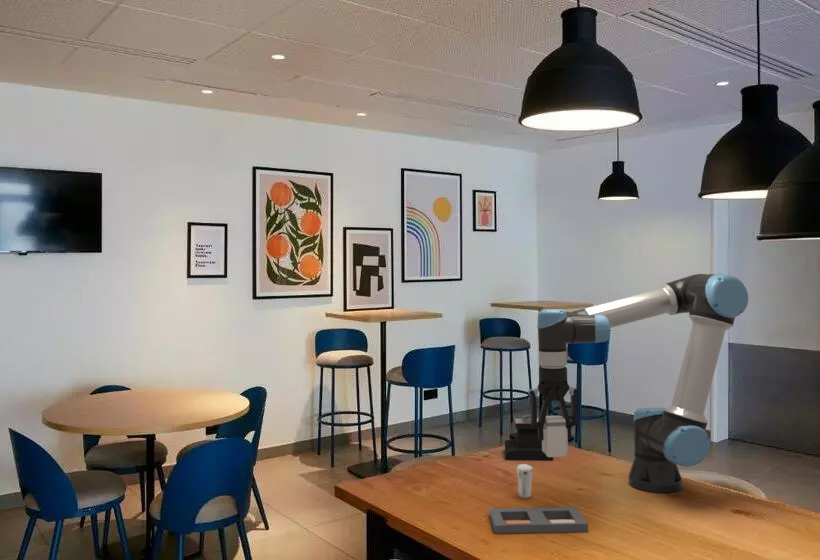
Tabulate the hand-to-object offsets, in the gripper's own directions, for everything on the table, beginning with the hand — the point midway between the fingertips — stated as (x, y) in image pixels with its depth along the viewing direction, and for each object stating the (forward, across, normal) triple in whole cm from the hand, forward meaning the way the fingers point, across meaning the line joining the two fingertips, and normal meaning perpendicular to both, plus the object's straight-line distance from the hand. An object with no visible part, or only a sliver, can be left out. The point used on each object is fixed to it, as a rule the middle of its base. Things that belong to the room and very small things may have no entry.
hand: (555, 451), depth 187 cm
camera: (+16, -2, -53) cm, 56 cm away
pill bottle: (+16, +6, -10) cm, 20 cm away
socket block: (+15, +8, +11) cm, 20 cm away
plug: (+1, 0, 0) cm, 1 cm away
